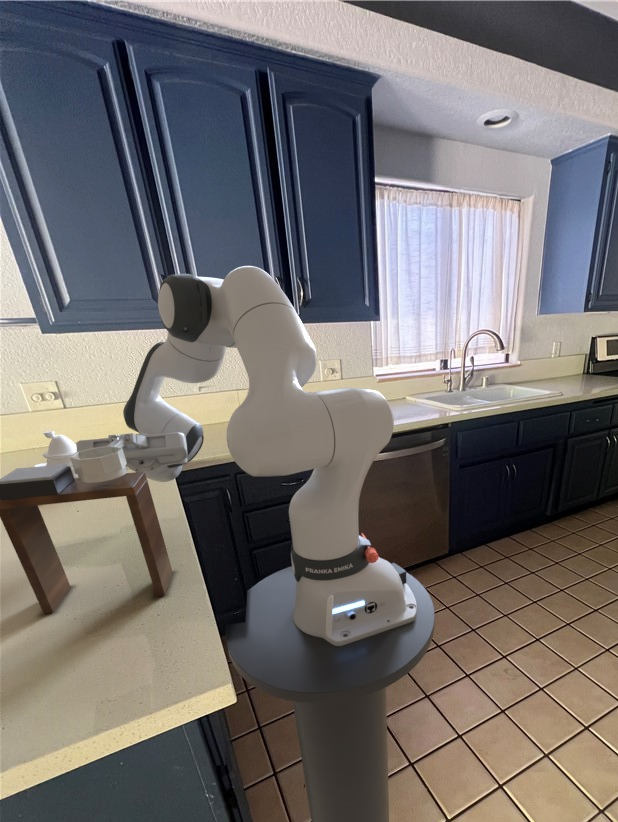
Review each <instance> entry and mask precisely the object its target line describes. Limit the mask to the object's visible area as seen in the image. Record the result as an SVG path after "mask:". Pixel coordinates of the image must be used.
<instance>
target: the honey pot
mask: <svg viewBox="0 0 618 822" xmlns="http://www.w3.org/2000/svg"><path fill="white" fill-rule="evenodd" d="M42 434H43V435H44V437H45V438H46V439H50V442H49V444H48V449H47V451H45V452H44V453H43V454H42V457H43V458H44V459H46V463H47V464H46V466H51V465H63V464H67V467H68V466H70V468H71V470H72V473H73V476H74V478H79V477H78V474H75V471H74V468H73V466H72V463H71V460H70V457H71V456H72V455H73V454H75V453H76V452H77V451H76V443H75V442H74V441H73V440H71V439H70V438H69V437H68V436H65V435H64V434H59V433H58V434H55V430H47V431H43V432H42Z"/></svg>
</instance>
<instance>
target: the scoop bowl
mask: <svg viewBox="0 0 618 822" xmlns="http://www.w3.org/2000/svg"><path fill="white" fill-rule="evenodd" d="M125 434H126V433H122V434H120V435H118V436H119V437H117V438H116V439H115V440H114V441H113V442H112V443H110V444H109V445H108V446H107V447H96V448H91V449H87V450H83V451H79V452H76V453H75V454H73V455H72V456H71V457H70V460H71V463H72V466H73V468H74V471H75V474H78V477H79V480H80V481H81V482H85V483H95V482H103V481H108V480H112V479H116V478H119V477H121V476H123V475H125V474H126V473H128V467H127V466H126V464H127V462H126V459H125V456H124V452H123V449H122V447H123V446H124V445H125V444H126V442H125Z"/></svg>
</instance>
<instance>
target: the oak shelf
mask: <svg viewBox="0 0 618 822" xmlns="http://www.w3.org/2000/svg"><path fill="white" fill-rule="evenodd" d="M74 479H75V480H74V481H73V482H71V483H70V484H69V485H68V486H67V487H66V488H65V489H64V490H62V491H61V492H60V493H59V494H58V495H48V496H38V497H28V498H18V499H8V500H0V520H1V522H2V525H3V527H4V529H5V532H6V533H7V536H8V538H9V540H10V542H11V544H12V545H11V546H12V547H13V549H14V551H15V553H16V556H17V558H18V561H19V563H20V564H21V567H22V569H23V571H24V573H25V575H26V578H27V580H28V582H29V585H30V586H31V590H32V591H33V593H34V596H35V598H36V600H37V602H38V605H39V606H40V608H41V611H42V613H43V614H44V615H47V614H48V615H49V614H52V613H55V612H56V610H57V608H58V607H59V605H60V604H61V602H63V600H64V598H65V597H66V595H67V594H68V592H69V591H70V590H71V588H72V587H71V584H70V582H69V580H68V577H67V574H66V572H65V569H64V567H63V564H62V562H61V560H60V557H59V554H58V552H57V549H56V547H55V545H54V542H53V540H52V537H51V535H50V532H49V530H48V527H47V525H46V521H45V520H44V517H43V515H42V513H41V510H40V507H39V506H47V505H54V504H55V505H56V504H64V503H76V502H83V501H85V502H86V501H90V500H91V501H93V500H102V499H113V498H121V497H126V498H125V499H126V501H127V505H128V508H129V511H130V514H131V517H132V521H133V525H134V527H135V530H136V535H137V538H138V541H139V544H140V547H141V550H142V553H143V557H144V561H145V564H146V567H147V570H148V573H149V577H150V580H151V583H152V587H153V590H154V593H155V596H156V598H158V597H163V596H166V594H167V591H168V588H169V586H170V585H169V584H170V582H171V580H172V577H173V573H174V572H173V568H172V565H171V560H170V558H169V553H168V550H167V546H166V543H165V540H164V536H163V532H162V529H161V525H160V521H159V518H158V514H157V510H156V507H155V503H154V500H153V499H154V498H153V496H152V491H151V489H150V485H149V482H148V478H147V477H146V474H145V472H135V471H133V472H127V473H126V474H125V475H123V476H121V477H119V478H116V479H112V480H108V481H103V482H95V483H85V482H81V481H80V480H79V478H74Z"/></svg>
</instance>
